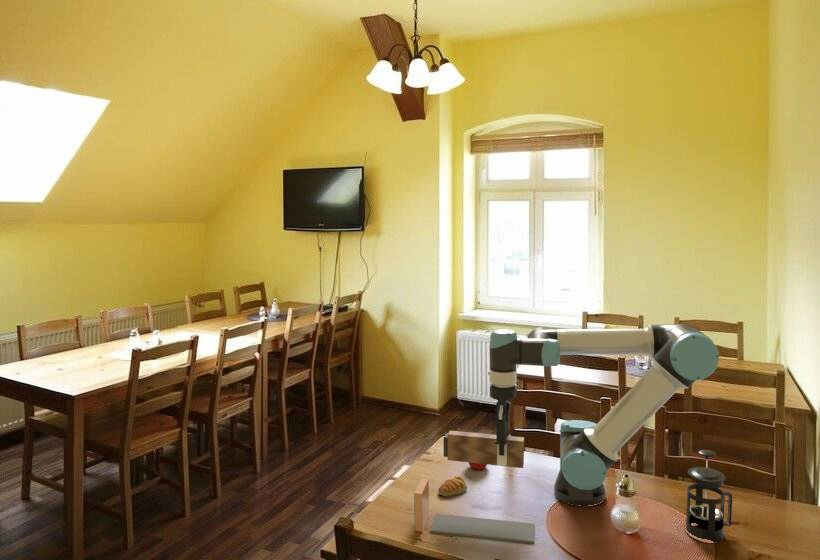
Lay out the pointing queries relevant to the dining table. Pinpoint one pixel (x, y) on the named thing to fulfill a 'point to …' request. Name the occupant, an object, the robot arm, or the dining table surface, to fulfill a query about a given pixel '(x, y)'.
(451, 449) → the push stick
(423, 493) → the tile
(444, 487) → the pastry
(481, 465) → the red vase
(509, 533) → the mat
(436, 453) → the dining table surface
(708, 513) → the french press
